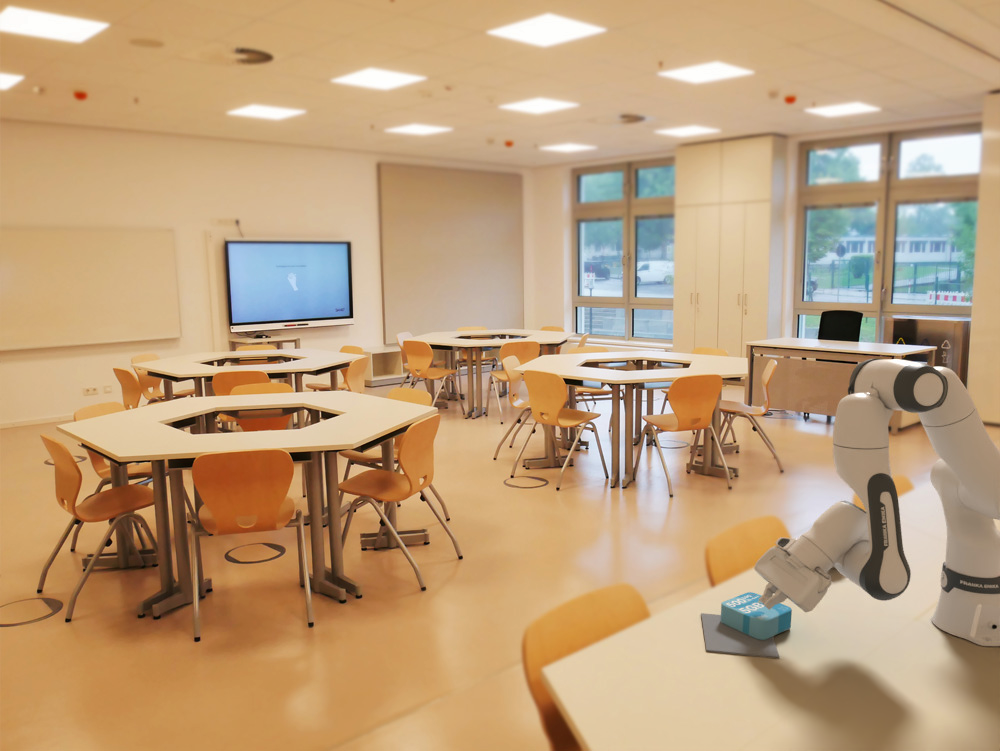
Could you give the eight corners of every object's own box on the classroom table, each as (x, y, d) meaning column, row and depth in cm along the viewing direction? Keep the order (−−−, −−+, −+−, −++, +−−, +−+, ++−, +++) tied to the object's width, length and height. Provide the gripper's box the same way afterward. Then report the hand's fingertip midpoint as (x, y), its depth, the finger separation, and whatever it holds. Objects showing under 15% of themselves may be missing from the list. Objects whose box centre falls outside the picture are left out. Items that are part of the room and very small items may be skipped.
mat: (767, 620, 181) (767, 619, 181) (779, 658, 163) (779, 656, 163) (701, 614, 184) (701, 613, 184) (706, 651, 166) (706, 649, 166)
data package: (763, 622, 169) (718, 603, 179) (761, 641, 170) (717, 621, 179) (794, 608, 176) (750, 590, 186) (793, 627, 177) (749, 608, 186)
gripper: (844, 588, 159) (797, 636, 159) (792, 552, 179) (750, 594, 179) (826, 569, 158) (779, 617, 157) (775, 534, 178) (733, 577, 177)
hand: (763, 604), depth 168 cm, fingers closed
